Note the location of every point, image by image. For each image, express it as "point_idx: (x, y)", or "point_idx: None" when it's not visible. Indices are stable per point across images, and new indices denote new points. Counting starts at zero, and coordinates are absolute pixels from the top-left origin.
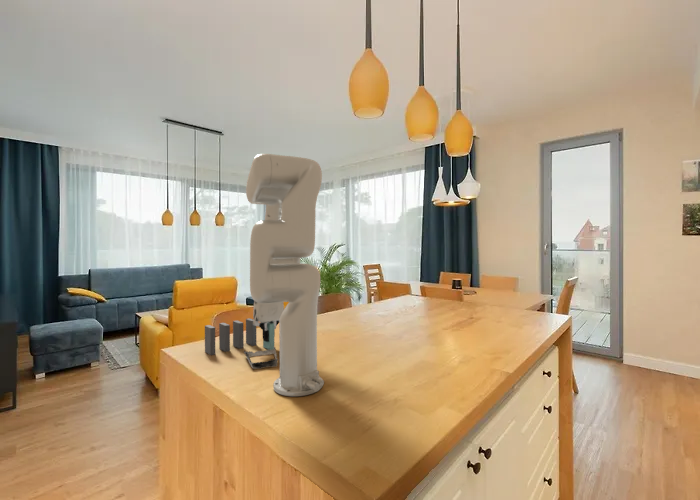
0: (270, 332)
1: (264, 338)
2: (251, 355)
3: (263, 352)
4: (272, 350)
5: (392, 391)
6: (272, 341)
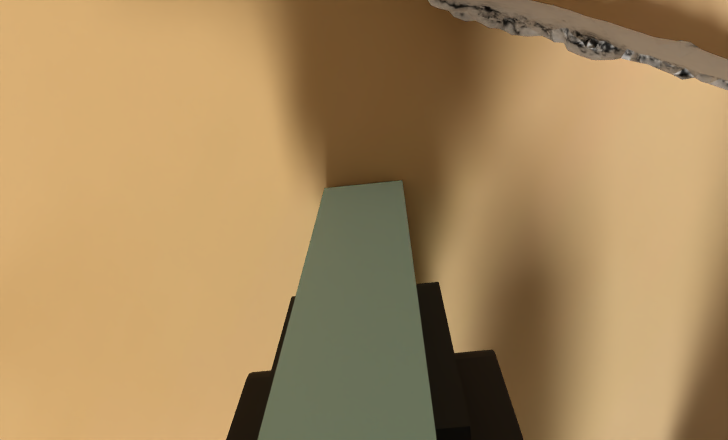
0: (412, 334)
1: (493, 366)
2: None
3: (608, 41)
4: (447, 8)
5: None
6: (355, 235)
